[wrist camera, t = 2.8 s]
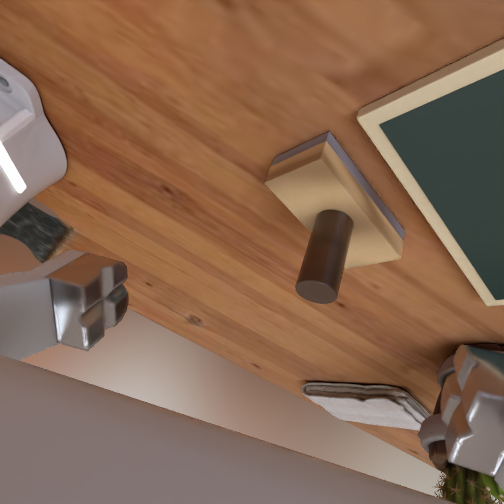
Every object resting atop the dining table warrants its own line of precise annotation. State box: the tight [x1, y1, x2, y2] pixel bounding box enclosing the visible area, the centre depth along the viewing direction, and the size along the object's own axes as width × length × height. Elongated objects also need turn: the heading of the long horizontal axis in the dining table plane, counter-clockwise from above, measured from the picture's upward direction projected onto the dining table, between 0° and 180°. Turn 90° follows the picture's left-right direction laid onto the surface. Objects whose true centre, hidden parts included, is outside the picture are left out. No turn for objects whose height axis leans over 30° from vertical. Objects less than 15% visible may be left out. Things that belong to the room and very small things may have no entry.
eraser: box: [264, 131, 405, 304], centre depth 29 cm, size 11×5×9 cm, turn 43°
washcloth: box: [301, 383, 431, 430], centre depth 66 cm, size 12×18×3 cm, turn 132°
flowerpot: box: [418, 344, 504, 504], centre depth 39 cm, size 14×15×20 cm
